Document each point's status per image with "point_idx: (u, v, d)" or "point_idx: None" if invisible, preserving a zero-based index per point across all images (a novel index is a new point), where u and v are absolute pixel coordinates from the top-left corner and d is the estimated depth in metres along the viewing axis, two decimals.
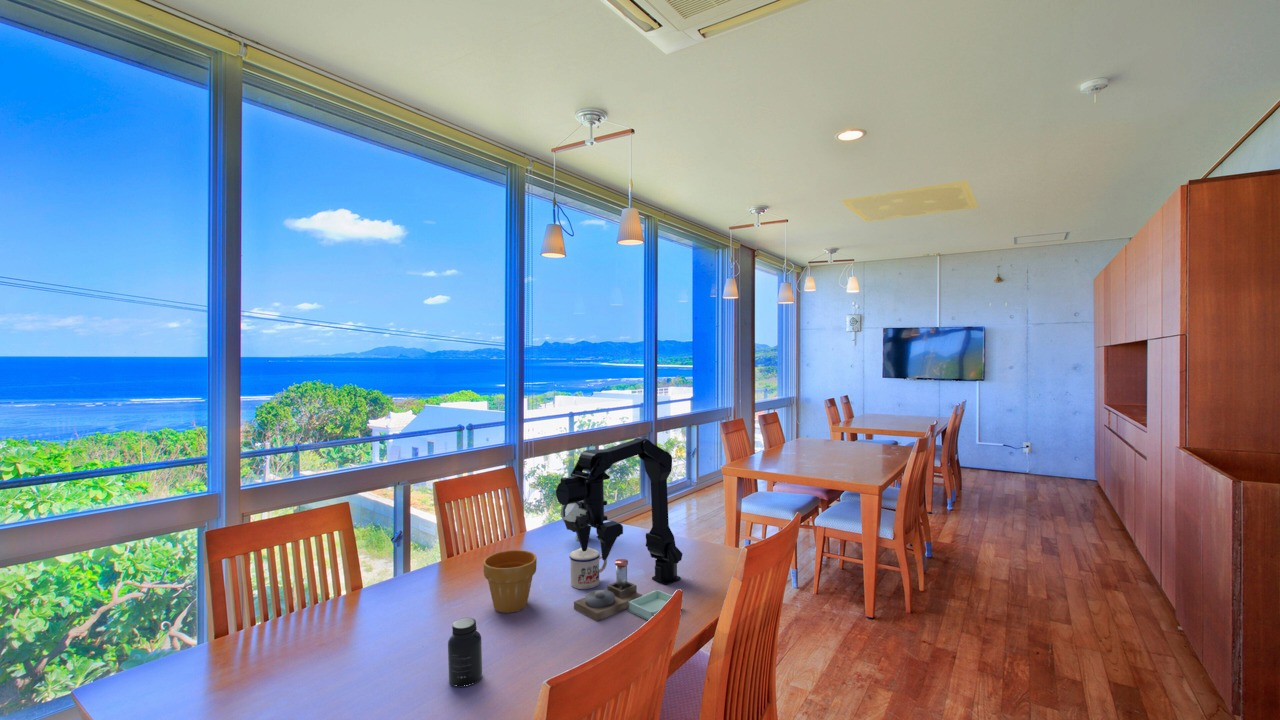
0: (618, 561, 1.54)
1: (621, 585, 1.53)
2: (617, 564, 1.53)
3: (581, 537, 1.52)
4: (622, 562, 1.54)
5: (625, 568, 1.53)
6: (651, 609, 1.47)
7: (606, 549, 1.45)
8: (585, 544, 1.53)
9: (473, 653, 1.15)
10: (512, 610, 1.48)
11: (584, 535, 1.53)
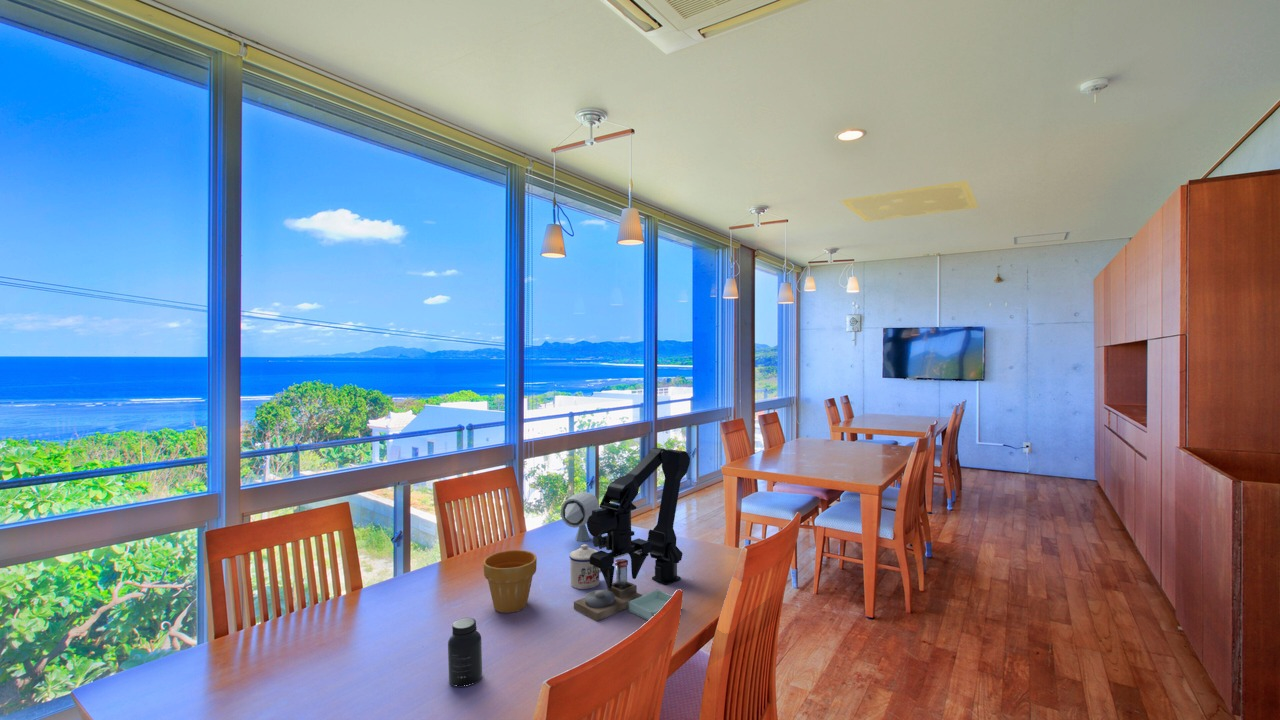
0: (618, 561, 1.54)
1: (621, 585, 1.53)
2: (617, 564, 1.53)
3: (632, 564, 1.58)
4: (622, 562, 1.54)
5: (625, 568, 1.53)
6: (651, 609, 1.47)
7: (606, 578, 1.51)
8: (634, 573, 1.57)
9: (473, 653, 1.15)
10: (512, 610, 1.48)
11: (635, 564, 1.58)
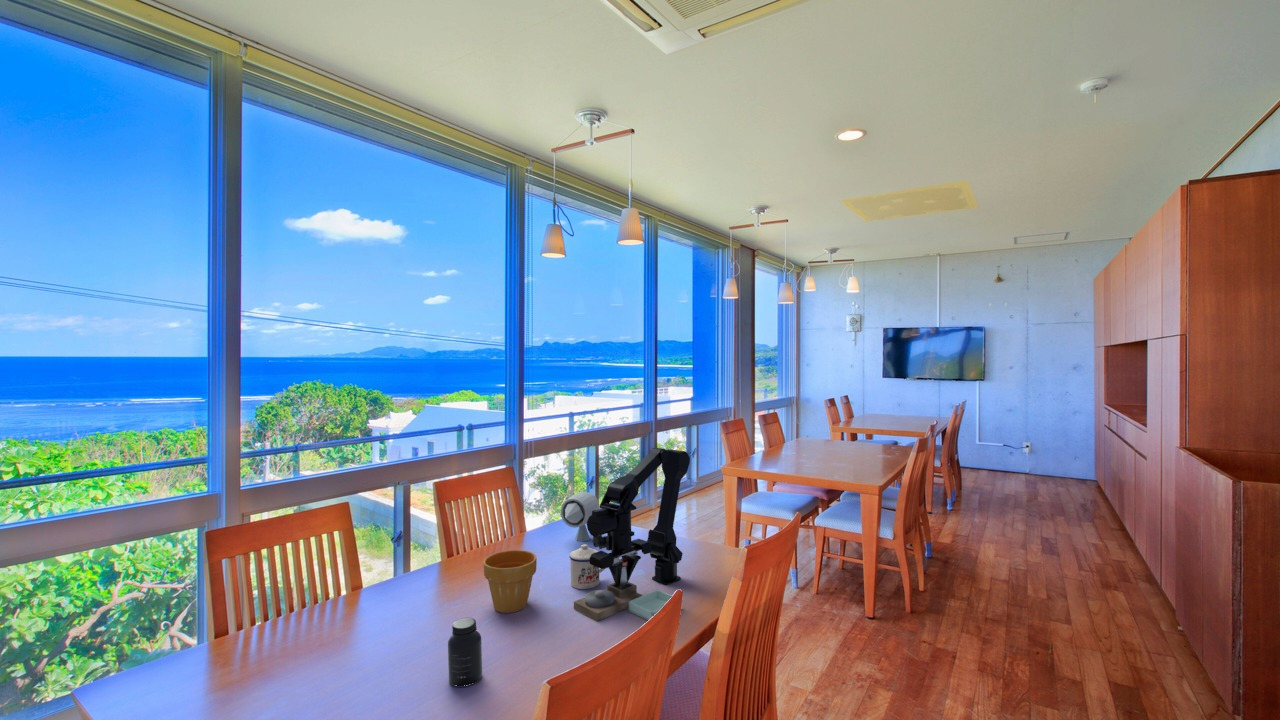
0: None
1: (621, 585, 1.53)
2: None
3: None
4: (622, 562, 1.54)
5: (625, 568, 1.53)
6: (651, 609, 1.47)
7: (614, 575, 1.53)
8: None
9: (473, 653, 1.15)
10: (512, 610, 1.48)
11: (627, 567, 1.56)
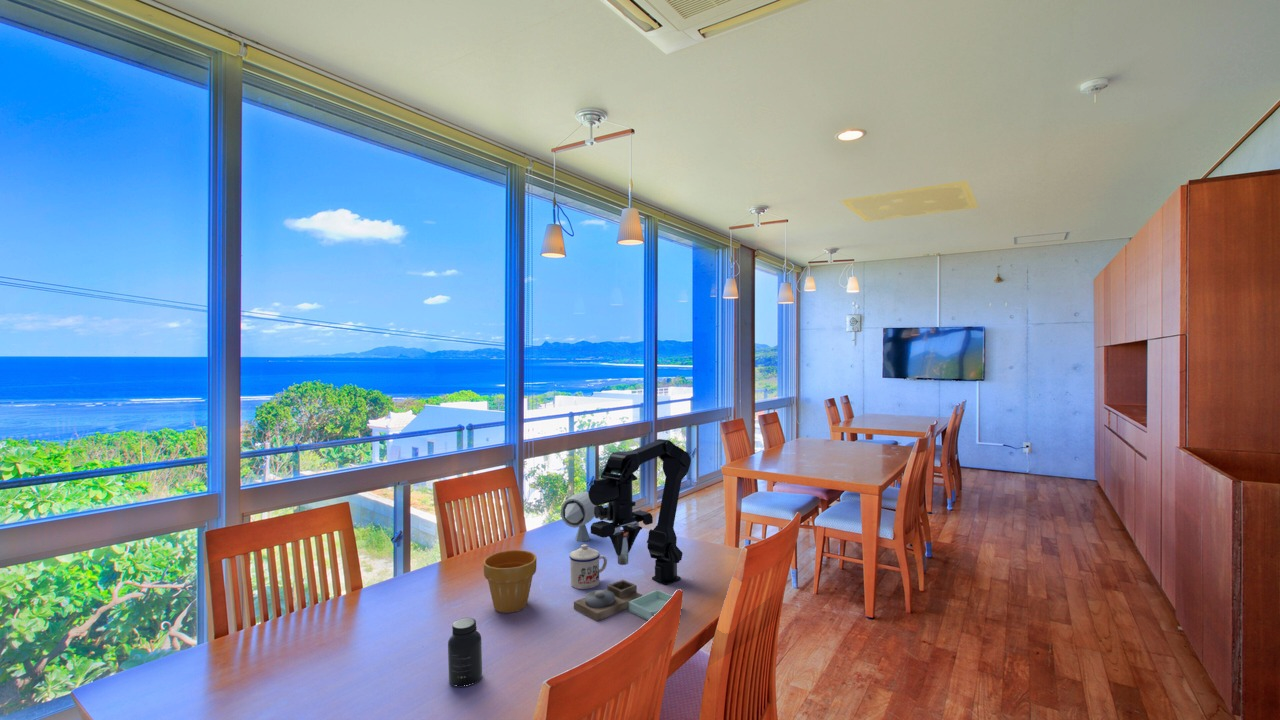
0: None
1: (622, 555, 1.53)
2: None
3: None
4: (623, 532, 1.53)
5: (626, 538, 1.53)
6: (651, 609, 1.47)
7: (615, 545, 1.52)
8: None
9: (473, 653, 1.15)
10: (512, 610, 1.48)
11: (629, 538, 1.55)
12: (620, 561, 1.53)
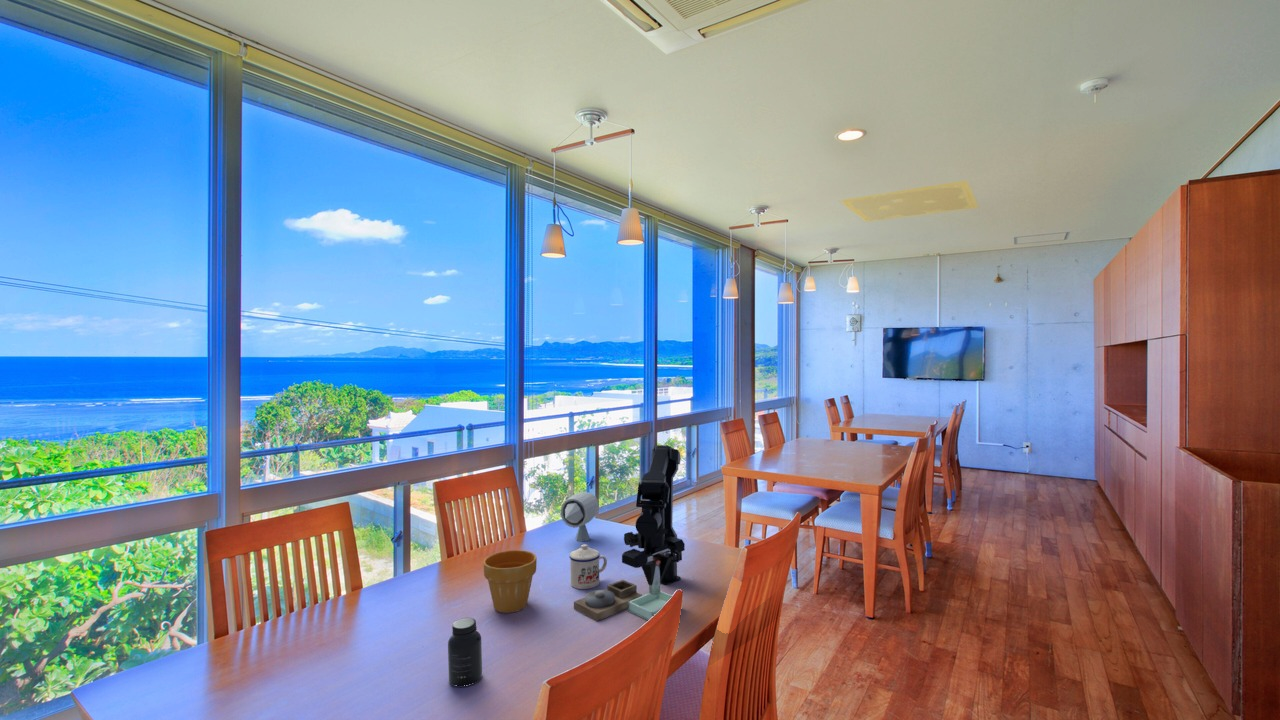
0: None
1: (654, 585, 1.47)
2: None
3: None
4: (655, 561, 1.47)
5: (658, 566, 1.47)
6: (651, 609, 1.47)
7: (646, 574, 1.46)
8: None
9: (473, 653, 1.15)
10: (512, 610, 1.48)
11: (660, 566, 1.49)
12: (652, 591, 1.47)
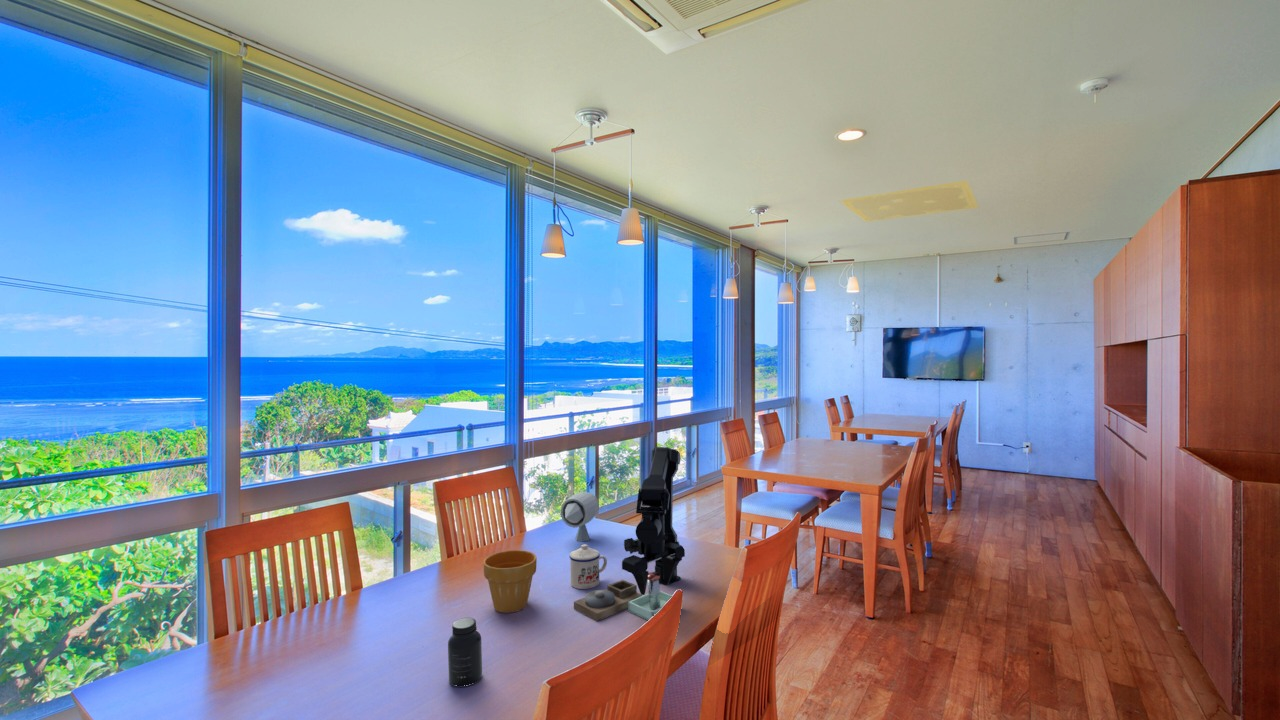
0: (650, 575, 1.48)
1: (654, 600, 1.47)
2: (649, 578, 1.47)
3: (664, 569, 1.52)
4: (654, 576, 1.47)
5: (657, 581, 1.47)
6: None
7: (639, 584, 1.44)
8: (666, 578, 1.51)
9: (473, 653, 1.15)
10: (512, 610, 1.48)
11: (667, 569, 1.51)
12: (652, 606, 1.47)
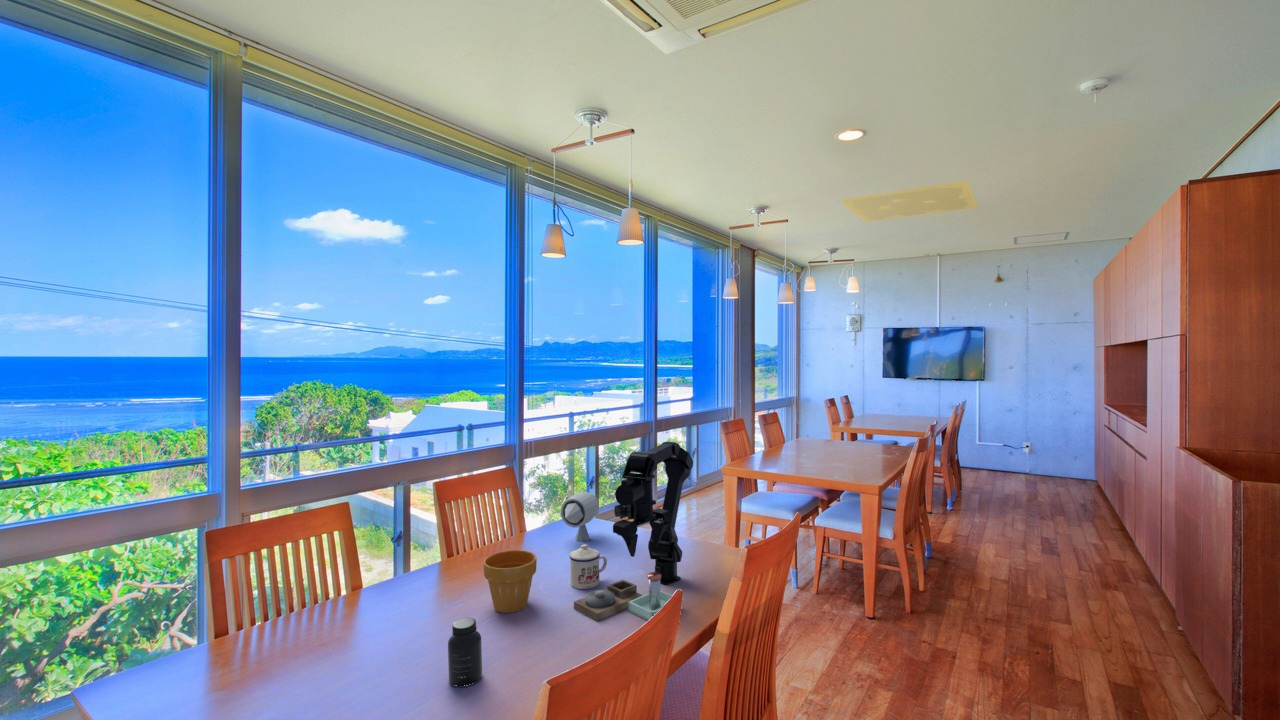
0: (651, 575, 1.48)
1: (655, 600, 1.47)
2: (650, 578, 1.47)
3: (652, 533, 1.60)
4: (655, 576, 1.47)
5: (658, 581, 1.47)
6: None
7: (629, 546, 1.52)
8: (655, 541, 1.59)
9: (473, 653, 1.15)
10: (512, 610, 1.48)
11: (656, 533, 1.59)
12: (652, 606, 1.47)
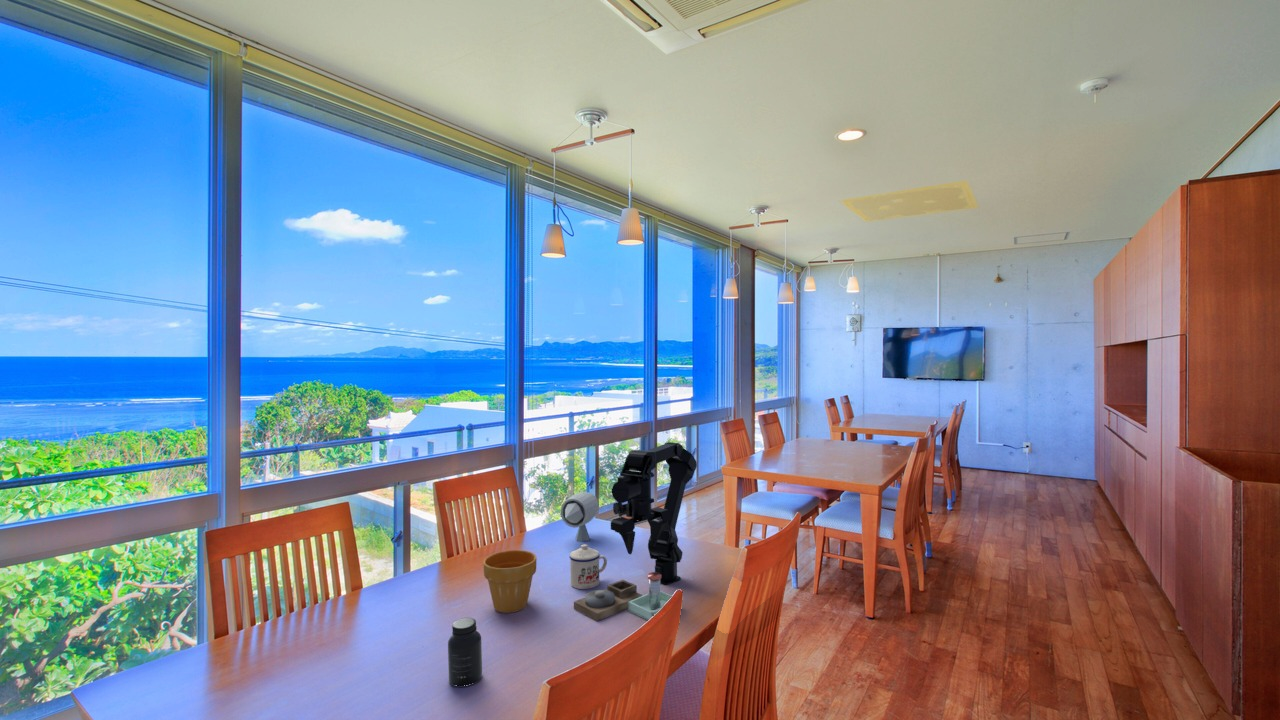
0: (651, 575, 1.48)
1: (655, 600, 1.47)
2: (650, 578, 1.47)
3: (651, 531, 1.61)
4: (655, 576, 1.47)
5: (658, 582, 1.47)
6: None
7: (626, 543, 1.53)
8: (653, 540, 1.60)
9: (473, 653, 1.15)
10: (512, 610, 1.48)
11: (654, 532, 1.60)
12: (652, 606, 1.47)
